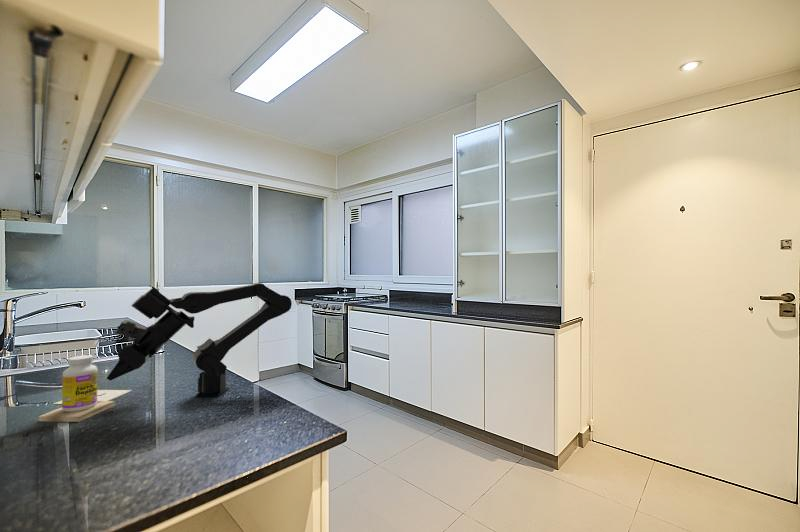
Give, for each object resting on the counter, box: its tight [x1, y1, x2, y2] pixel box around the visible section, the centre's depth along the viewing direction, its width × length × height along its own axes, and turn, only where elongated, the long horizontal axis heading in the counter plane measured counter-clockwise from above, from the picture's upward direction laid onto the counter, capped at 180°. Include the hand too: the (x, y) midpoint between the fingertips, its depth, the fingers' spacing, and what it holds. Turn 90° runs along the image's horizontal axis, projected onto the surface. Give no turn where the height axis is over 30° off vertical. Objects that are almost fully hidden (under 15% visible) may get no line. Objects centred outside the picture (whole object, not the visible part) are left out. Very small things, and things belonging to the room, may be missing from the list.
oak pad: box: [38, 400, 116, 423], centre depth 89 cm, size 10×10×1 cm
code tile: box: [52, 389, 133, 405], centre depth 100 cm, size 13×11×1 cm
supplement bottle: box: [61, 354, 99, 412], centre depth 89 cm, size 7×7×13 cm
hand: (114, 374), depth 92 cm, fingers open, 9 cm apart
